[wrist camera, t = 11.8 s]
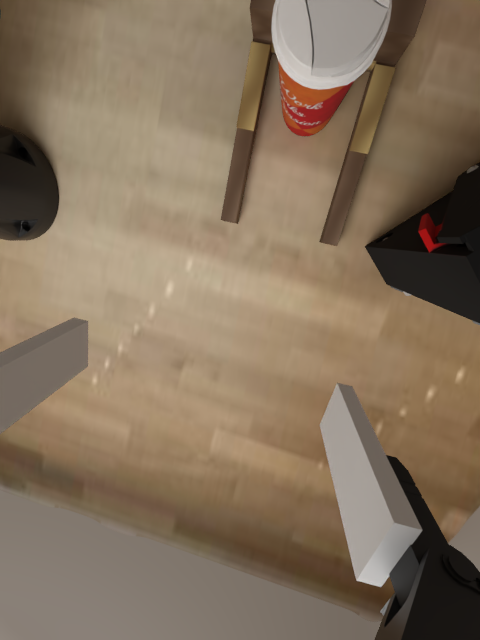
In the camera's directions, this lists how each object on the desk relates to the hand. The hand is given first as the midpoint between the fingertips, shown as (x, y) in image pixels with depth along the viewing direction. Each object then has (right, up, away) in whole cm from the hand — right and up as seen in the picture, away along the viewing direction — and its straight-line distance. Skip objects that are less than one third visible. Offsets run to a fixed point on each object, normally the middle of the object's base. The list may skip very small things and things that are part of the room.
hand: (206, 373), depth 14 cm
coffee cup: (+10, +28, +18) cm, 35 cm away
